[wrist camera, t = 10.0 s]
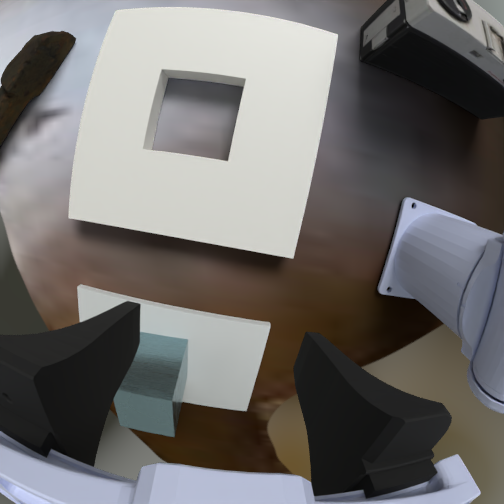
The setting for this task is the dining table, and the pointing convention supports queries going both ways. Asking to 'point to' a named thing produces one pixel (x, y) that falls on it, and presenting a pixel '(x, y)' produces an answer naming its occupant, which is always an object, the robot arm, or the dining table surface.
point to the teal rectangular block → (154, 385)
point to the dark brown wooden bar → (30, 74)
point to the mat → (198, 345)
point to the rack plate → (193, 167)
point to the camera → (441, 50)
